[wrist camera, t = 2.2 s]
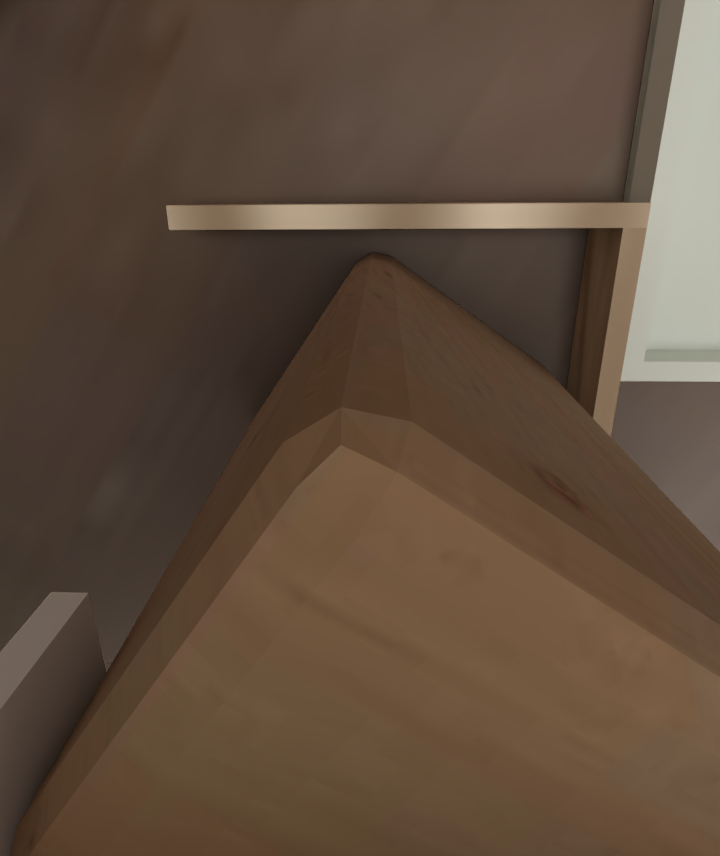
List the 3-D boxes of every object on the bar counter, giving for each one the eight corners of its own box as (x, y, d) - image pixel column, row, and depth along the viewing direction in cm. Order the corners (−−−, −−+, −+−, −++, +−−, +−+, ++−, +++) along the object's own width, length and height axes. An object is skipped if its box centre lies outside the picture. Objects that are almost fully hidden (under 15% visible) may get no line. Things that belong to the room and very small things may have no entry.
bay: (233, 550, 29) (214, 594, 26) (196, 204, 23) (165, 205, 20) (559, 555, 29) (582, 601, 25) (612, 201, 22) (651, 202, 19)
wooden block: (370, 239, 23) (324, 401, 5) (555, 373, 25) (1030, 858, 7) (249, 424, 27) (-52, 936, 8) (421, 530, 29) (491, 1145, 10)
